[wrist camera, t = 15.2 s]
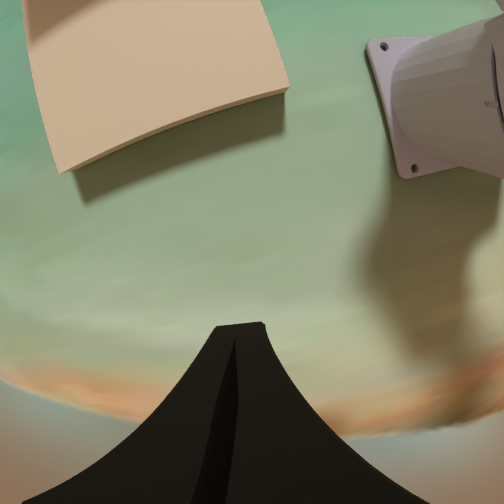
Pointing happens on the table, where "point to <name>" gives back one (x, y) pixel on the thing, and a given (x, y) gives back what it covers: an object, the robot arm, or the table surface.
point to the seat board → (143, 67)
